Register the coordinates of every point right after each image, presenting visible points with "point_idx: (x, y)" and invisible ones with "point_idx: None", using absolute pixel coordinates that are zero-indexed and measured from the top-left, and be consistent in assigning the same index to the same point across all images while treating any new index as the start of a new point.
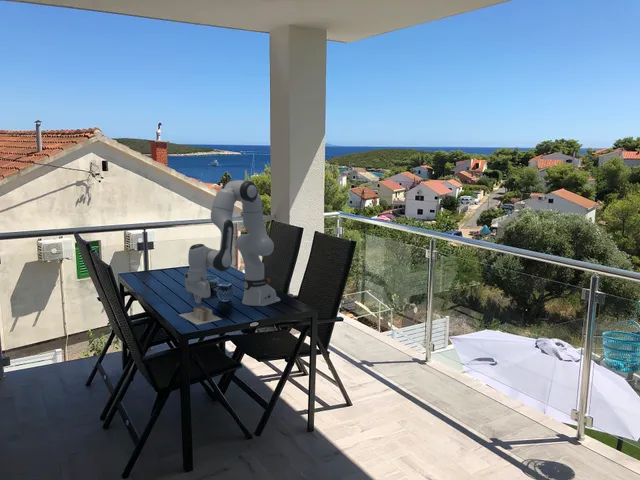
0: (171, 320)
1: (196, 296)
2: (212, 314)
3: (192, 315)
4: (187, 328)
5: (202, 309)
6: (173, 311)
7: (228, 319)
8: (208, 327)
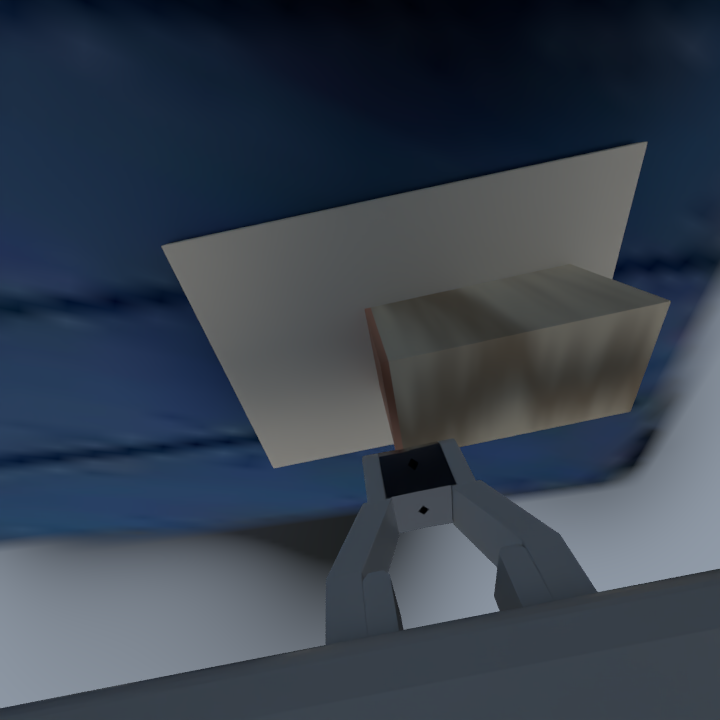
0: (353, 498)
1: (380, 567)
2: (403, 195)
3: (336, 390)
4: (559, 450)
5: (542, 398)
6: (129, 471)
7: (666, 31)
8: (663, 338)
